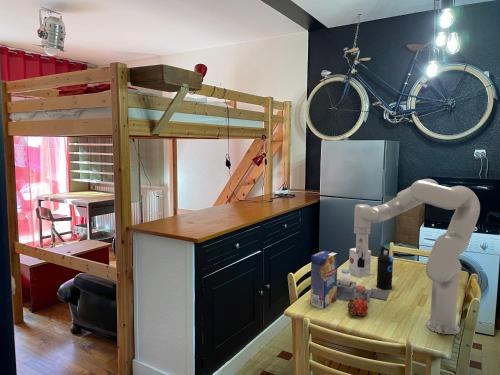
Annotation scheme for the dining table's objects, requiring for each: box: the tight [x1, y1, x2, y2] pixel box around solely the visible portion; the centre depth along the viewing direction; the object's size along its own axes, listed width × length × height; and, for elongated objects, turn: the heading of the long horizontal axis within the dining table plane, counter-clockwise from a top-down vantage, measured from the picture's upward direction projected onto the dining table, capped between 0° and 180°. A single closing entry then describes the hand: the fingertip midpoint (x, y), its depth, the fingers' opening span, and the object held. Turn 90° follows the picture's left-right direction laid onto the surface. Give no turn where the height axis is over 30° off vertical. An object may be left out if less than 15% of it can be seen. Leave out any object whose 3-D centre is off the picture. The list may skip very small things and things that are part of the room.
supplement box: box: [348, 247, 372, 278], centre depth 220 cm, size 9×9×15 cm
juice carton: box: [310, 250, 339, 310], centre depth 180 cm, size 12×8×24 cm, turn 139°
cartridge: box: [339, 268, 351, 287], centre depth 192 cm, size 5×5×10 cm
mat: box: [370, 288, 391, 302], centre depth 190 cm, size 12×9×1 cm
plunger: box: [356, 285, 367, 293], centre depth 182 cm, size 5×5×4 cm
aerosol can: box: [375, 250, 394, 291], centre depth 199 cm, size 8×8×20 cm
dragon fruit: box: [347, 298, 369, 317], centre depth 168 cm, size 8×8×12 cm
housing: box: [336, 278, 373, 304], centre depth 189 cm, size 15×18×5 cm
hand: (360, 266), depth 181 cm, fingers closed
